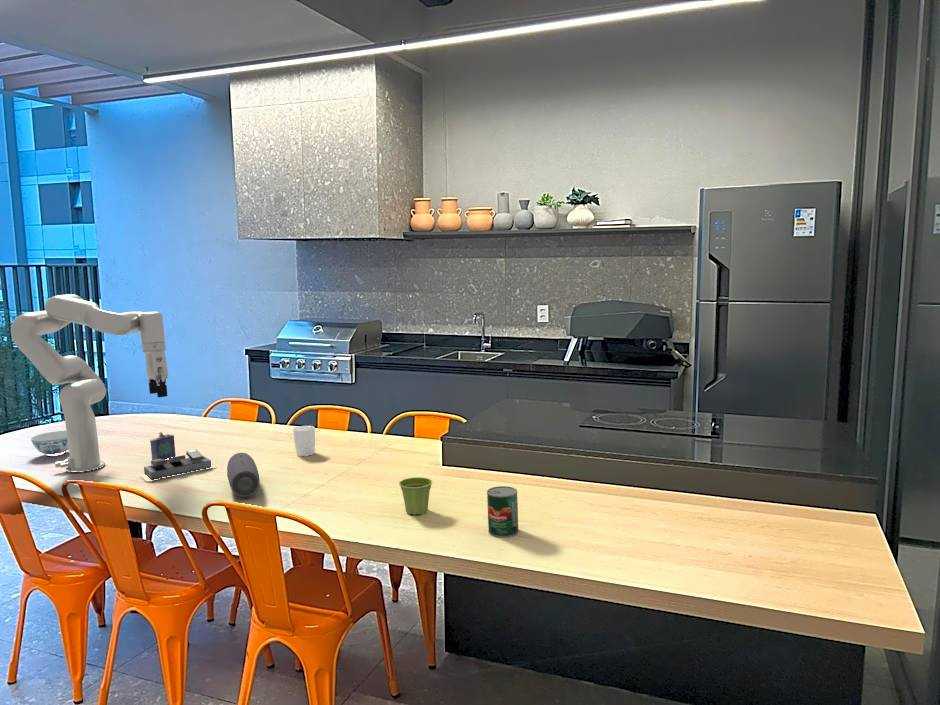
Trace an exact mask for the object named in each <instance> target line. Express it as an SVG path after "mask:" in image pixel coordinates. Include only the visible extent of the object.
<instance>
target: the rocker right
mask: <svg viewBox="0 0 940 705" xmlns="http://www.w3.org/2000/svg"><path fill="white" fill-rule="evenodd" d="M185 453H186V454H185V455H186V456H187V458H190V459H191V460H192V461H197V460H202V459H203V456H204V455H203V454H202V453H201V452H200V451H199V450H198V449H191V450H186V452H185Z"/></svg>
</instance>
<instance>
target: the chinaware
mask: <svg viewBox="0 0 940 705" xmlns="http://www.w3.org/2000/svg"><path fill="white" fill-rule="evenodd" d="M30 441H31V443H32V445H33V447H34V448H35V449H36V450H37V451H38V452H39V453H41V454H44V455H46V454H55V453H61V452H64V451H65V452H67V451H69V448H68V440H67V431H66V430H57V431H50V432H44V433H40V434H37V435H34V436H32V437H31V438H30Z"/></svg>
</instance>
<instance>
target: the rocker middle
mask: <svg viewBox="0 0 940 705" xmlns="http://www.w3.org/2000/svg"><path fill="white" fill-rule="evenodd" d="M185 458H186V454H184V455H179V456H176V457H173V458H169V460H168V462H172V461H177V460H181V459H185Z"/></svg>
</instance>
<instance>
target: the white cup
mask: <svg viewBox="0 0 940 705" xmlns="http://www.w3.org/2000/svg"><path fill="white" fill-rule="evenodd" d="M292 431H293V432H292V433H293V440H294V441H293V442H294V446H295V453H296V454H297V455H298V456H297V455H296V456H297V457H302V456H304V457H305V456H306V457H309V456H308V455H311V456H314V455H315V454H316V428H315V426H314V425H301V426H300V425H299V426H295V427H293V428H292ZM314 453H315V454H314ZM313 454H314V455H313Z"/></svg>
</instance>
